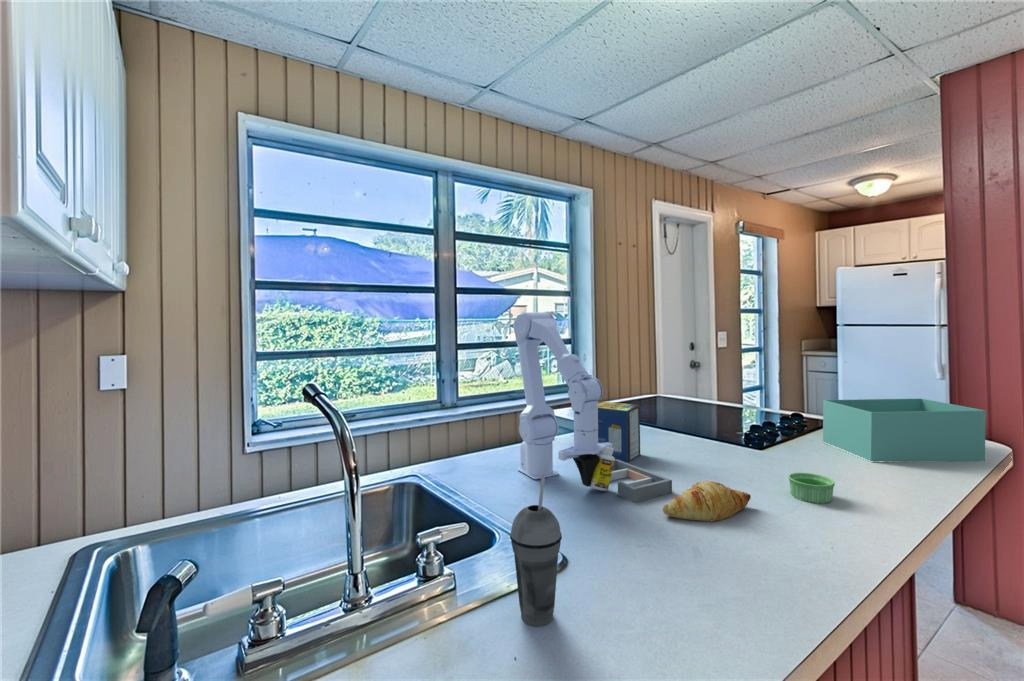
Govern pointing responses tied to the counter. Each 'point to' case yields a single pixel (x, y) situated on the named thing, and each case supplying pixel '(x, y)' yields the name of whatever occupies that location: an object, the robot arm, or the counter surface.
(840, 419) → the box
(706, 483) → the croissant
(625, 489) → the frame
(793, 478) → the ramekin
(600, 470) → the supplement bottle
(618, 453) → the protein box
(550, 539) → the beverage cup
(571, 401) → the robot arm
